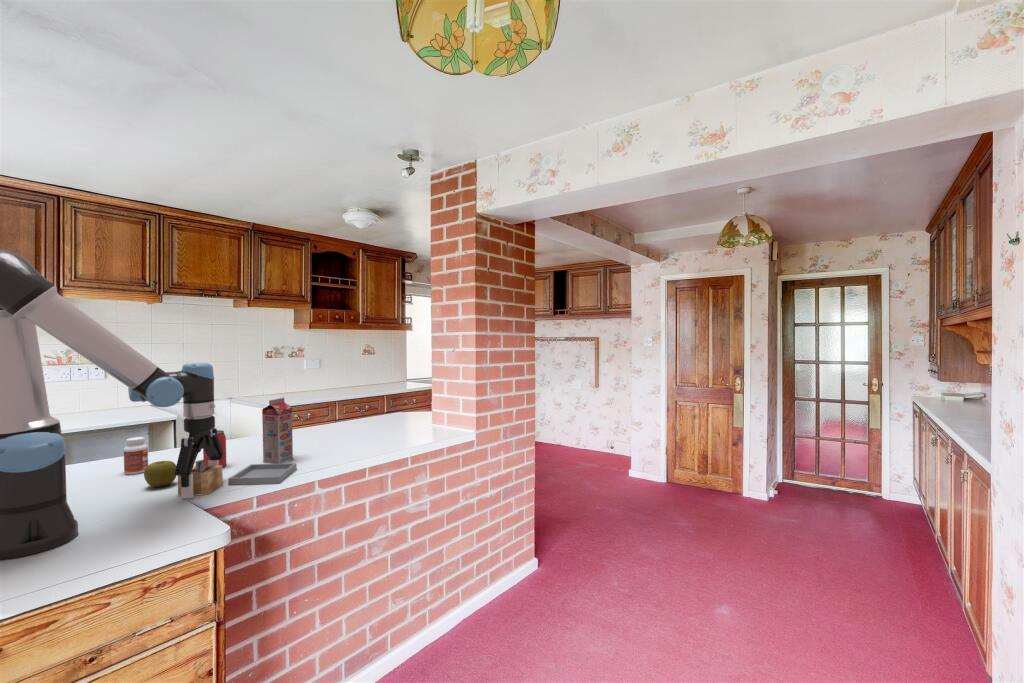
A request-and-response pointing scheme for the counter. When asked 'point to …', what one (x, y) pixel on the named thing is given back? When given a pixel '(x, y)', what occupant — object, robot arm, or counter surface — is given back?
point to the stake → (200, 466)
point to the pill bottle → (135, 456)
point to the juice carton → (277, 432)
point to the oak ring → (205, 480)
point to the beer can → (223, 445)
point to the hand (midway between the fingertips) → (201, 489)
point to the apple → (160, 473)
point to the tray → (262, 474)
